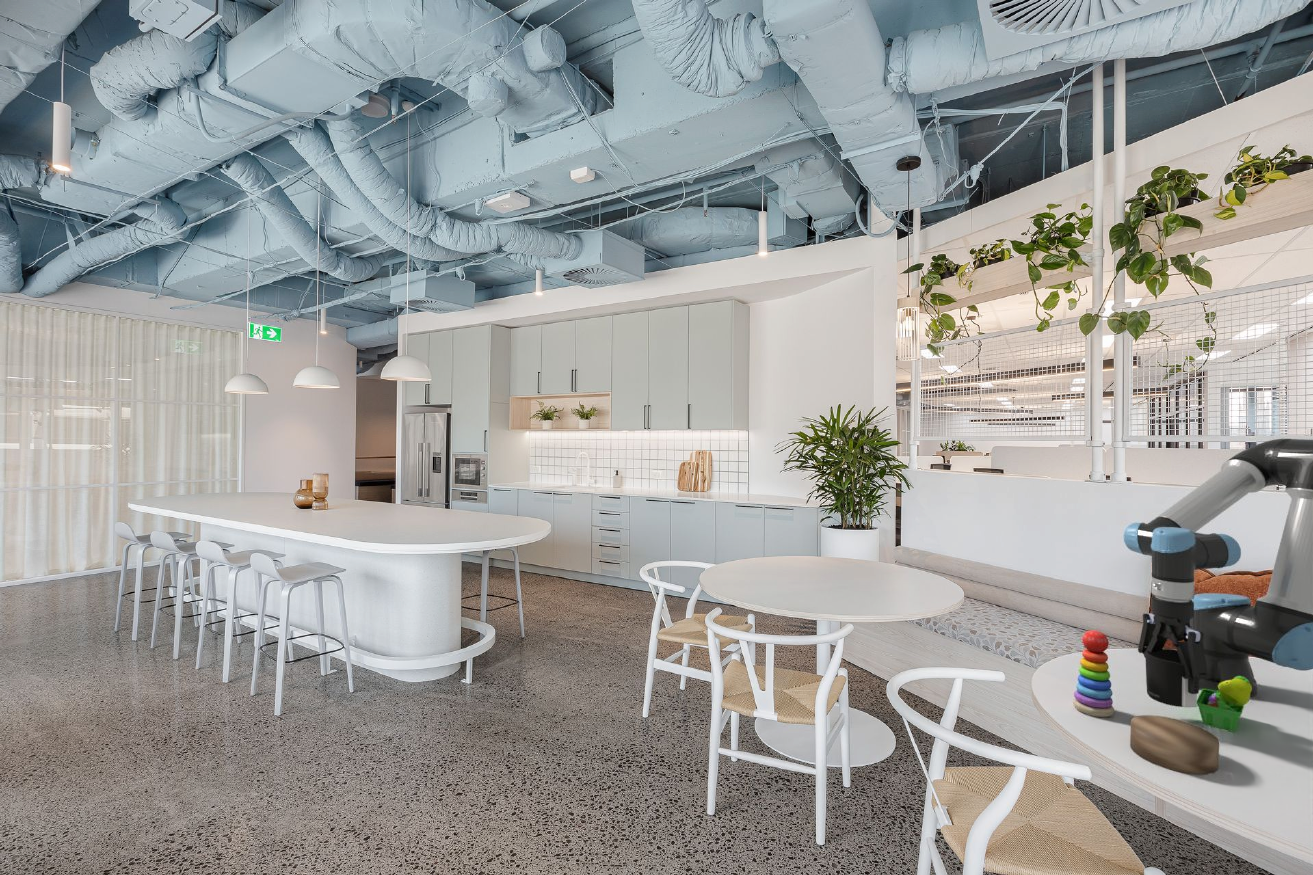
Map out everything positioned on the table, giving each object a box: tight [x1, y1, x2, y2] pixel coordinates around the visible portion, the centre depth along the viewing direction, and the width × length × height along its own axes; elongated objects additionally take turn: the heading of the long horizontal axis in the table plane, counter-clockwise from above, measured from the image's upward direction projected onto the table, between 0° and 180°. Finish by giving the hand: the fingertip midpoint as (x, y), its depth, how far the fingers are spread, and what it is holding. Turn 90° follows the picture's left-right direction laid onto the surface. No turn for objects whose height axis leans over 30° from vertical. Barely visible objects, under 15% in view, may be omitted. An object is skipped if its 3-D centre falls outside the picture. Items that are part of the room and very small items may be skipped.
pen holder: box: [1144, 648, 1192, 708], centre depth 146 cm, size 9×9×10 cm
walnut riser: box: [1129, 714, 1220, 775], centre depth 132 cm, size 14×14×5 cm
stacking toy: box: [1072, 629, 1115, 718], centre depth 152 cm, size 8×8×19 cm
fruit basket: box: [1197, 676, 1252, 733], centre depth 146 cm, size 11×9×11 cm
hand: (1170, 696), depth 147 cm, fingers closed on pen holder, 9 cm apart
